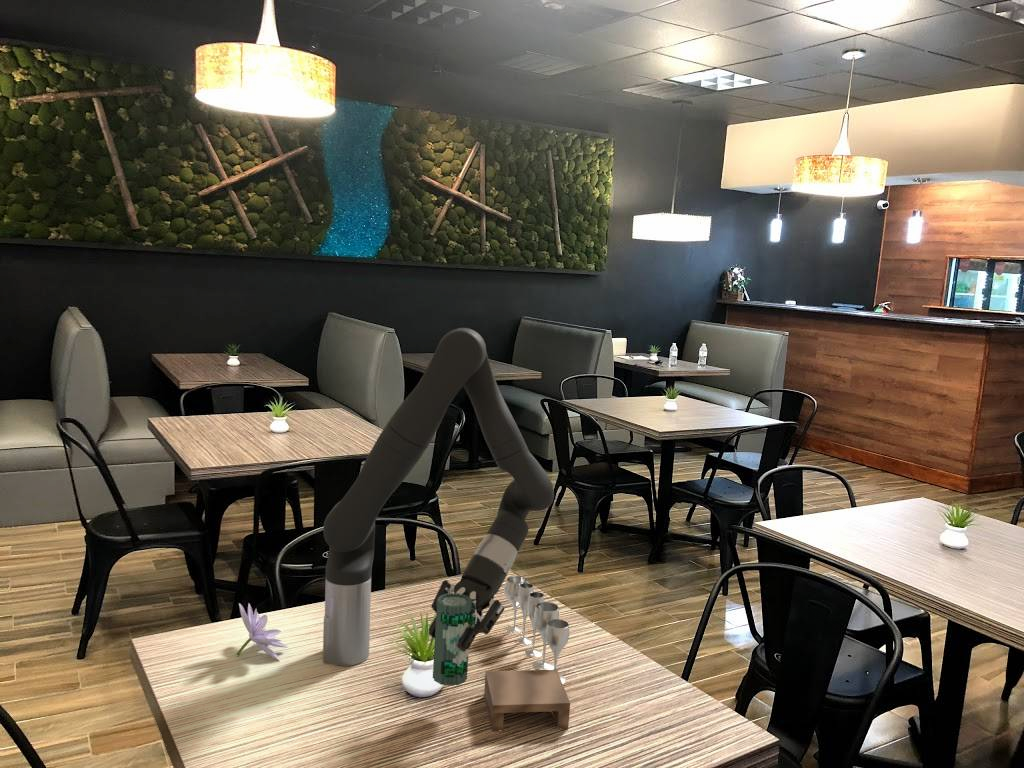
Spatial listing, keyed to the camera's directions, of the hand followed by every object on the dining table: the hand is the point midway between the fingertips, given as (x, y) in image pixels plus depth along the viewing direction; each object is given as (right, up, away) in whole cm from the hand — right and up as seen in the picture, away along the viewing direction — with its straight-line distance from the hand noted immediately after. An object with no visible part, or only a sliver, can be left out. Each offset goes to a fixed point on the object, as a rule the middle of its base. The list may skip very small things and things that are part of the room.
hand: (446, 642), depth 146 cm
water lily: (-40, -9, +21) cm, 46 cm away
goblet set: (+16, -11, +28) cm, 34 cm away
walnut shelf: (+14, -14, +4) cm, 21 cm away
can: (0, -7, +2) cm, 8 cm away
